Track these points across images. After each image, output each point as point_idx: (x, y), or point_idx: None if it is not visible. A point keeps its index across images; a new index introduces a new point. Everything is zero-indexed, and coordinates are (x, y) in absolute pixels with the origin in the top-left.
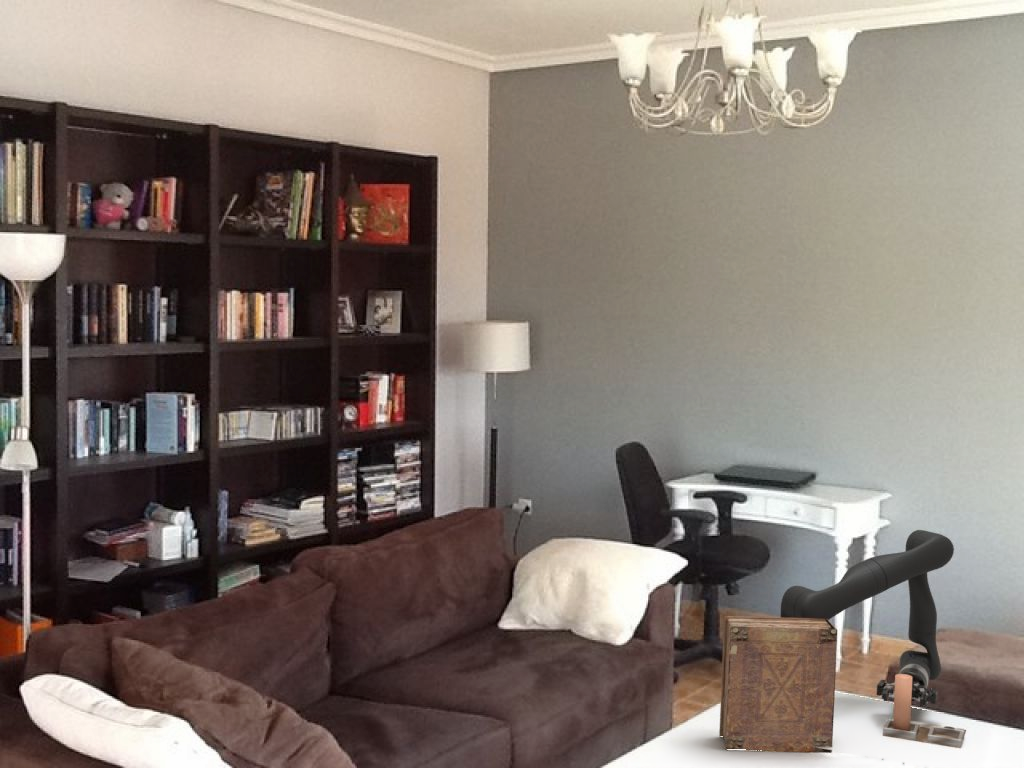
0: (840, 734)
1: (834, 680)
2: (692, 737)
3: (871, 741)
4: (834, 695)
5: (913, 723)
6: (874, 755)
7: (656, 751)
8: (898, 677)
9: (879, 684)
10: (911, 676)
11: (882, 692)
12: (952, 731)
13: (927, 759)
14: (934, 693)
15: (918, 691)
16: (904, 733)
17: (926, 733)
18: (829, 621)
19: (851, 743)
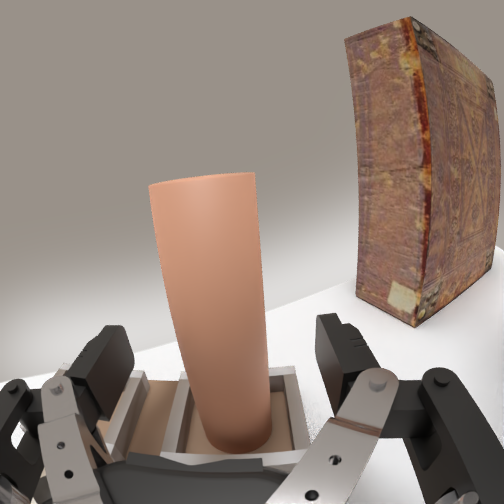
0: (412, 370)
1: (357, 142)
2: (497, 258)
3: (320, 377)
4: (358, 176)
5: (186, 457)
6: (281, 320)
7: None
8: (231, 173)
9: (457, 397)
10: (151, 185)
11: (356, 332)
12: None
13: (165, 344)
14: (12, 384)
15: (91, 444)
16: None
17: (142, 451)
18: (394, 21)
19: None
